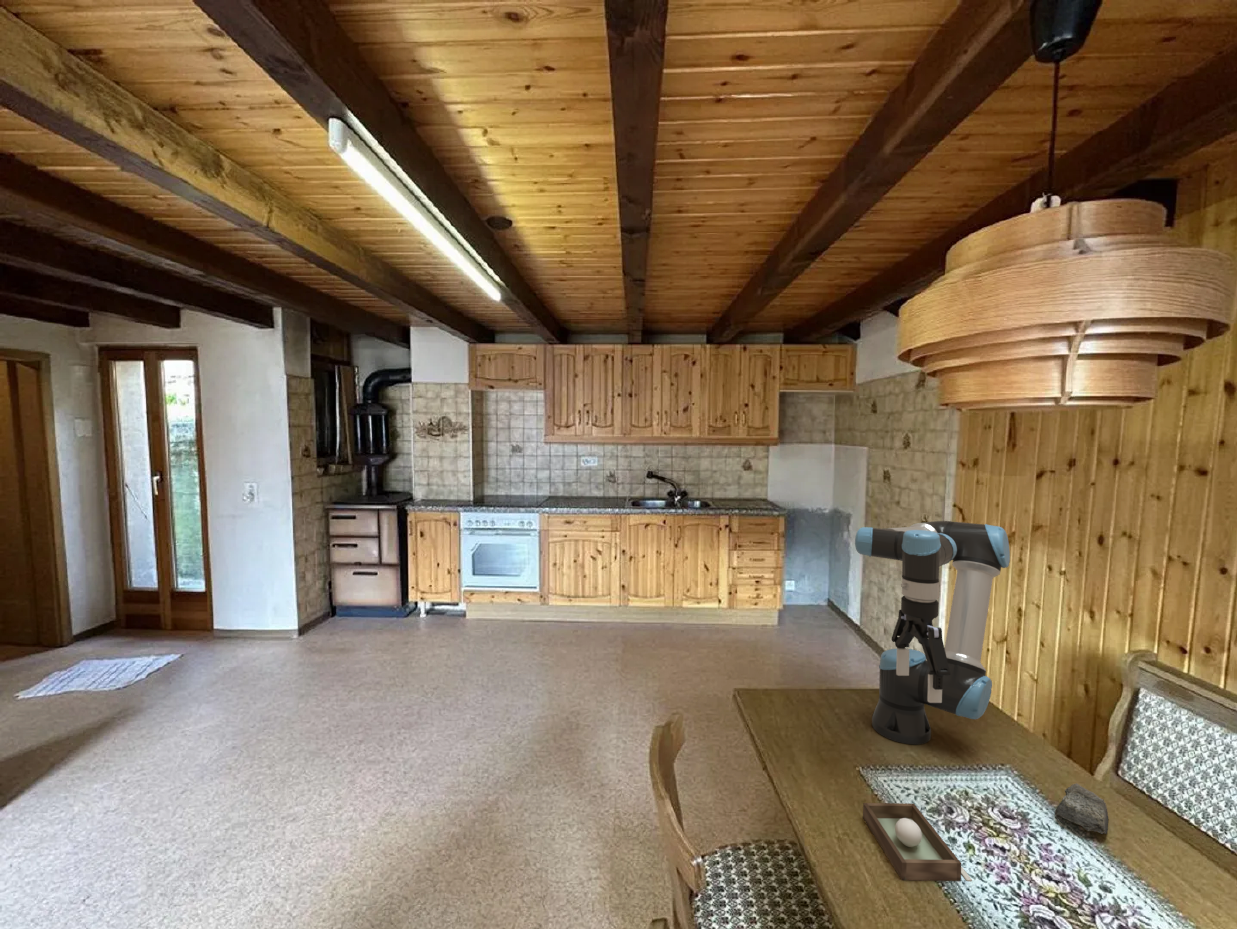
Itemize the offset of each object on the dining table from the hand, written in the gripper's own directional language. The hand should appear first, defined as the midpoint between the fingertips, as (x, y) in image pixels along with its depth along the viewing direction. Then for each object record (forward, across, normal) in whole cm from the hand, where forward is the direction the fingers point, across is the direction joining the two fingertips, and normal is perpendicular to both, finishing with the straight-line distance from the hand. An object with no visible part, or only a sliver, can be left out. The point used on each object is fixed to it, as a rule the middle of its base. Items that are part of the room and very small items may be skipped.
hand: (917, 687), depth 124 cm
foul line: (+27, +15, -2) cm, 31 cm away
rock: (+27, +7, +33) cm, 43 cm away
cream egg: (+26, +15, -10) cm, 32 cm away
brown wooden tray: (+27, +15, -10) cm, 32 cm away
